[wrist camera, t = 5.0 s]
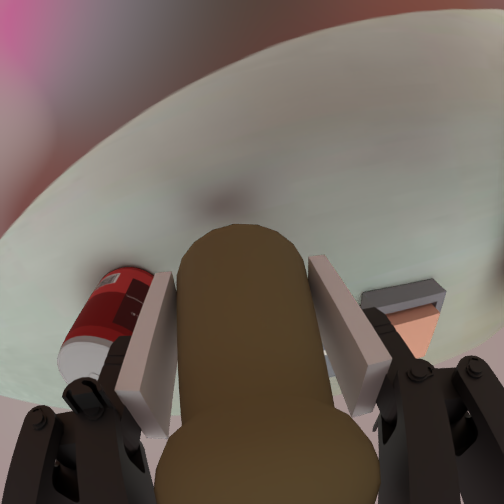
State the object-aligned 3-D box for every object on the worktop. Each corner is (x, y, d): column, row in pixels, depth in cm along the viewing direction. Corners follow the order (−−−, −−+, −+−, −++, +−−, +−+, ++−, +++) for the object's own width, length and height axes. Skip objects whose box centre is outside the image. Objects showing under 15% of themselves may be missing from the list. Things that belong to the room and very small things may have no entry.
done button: (426, 298, 29) (440, 312, 27) (414, 341, 32) (424, 355, 30) (379, 309, 29) (391, 326, 26) (369, 353, 32) (378, 370, 29)
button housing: (432, 278, 30) (446, 291, 27) (415, 339, 34) (425, 353, 32) (362, 292, 30) (374, 308, 27) (351, 356, 34) (359, 373, 31)
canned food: (93, 312, 28) (56, 387, 18) (107, 251, 25) (57, 323, 15) (157, 338, 30) (140, 421, 20) (181, 281, 27) (163, 368, 17)
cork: (214, 349, 15) (220, 557, 5) (152, 258, 12) (66, 520, 3) (321, 307, 14) (409, 515, 4) (279, 200, 12) (436, 479, 2)
